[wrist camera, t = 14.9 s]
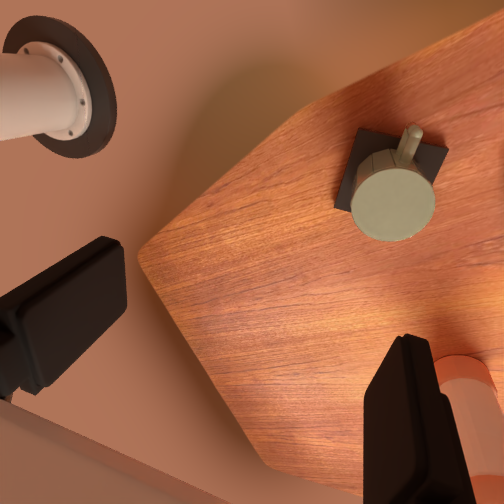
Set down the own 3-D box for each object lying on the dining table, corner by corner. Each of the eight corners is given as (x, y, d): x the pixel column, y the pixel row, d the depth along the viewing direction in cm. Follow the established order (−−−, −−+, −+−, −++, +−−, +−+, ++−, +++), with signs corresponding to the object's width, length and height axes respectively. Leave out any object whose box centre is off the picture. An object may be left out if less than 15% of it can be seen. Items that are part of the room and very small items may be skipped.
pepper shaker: (502, 374, 43) (585, 553, 27) (460, 399, 47) (510, 568, 31) (455, 346, 43) (509, 507, 27) (417, 373, 47) (445, 528, 31)
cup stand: (334, 204, 39) (327, 232, 32) (358, 127, 34) (357, 141, 27) (410, 224, 37) (420, 258, 30) (446, 146, 32) (469, 166, 26)
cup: (345, 202, 37) (341, 230, 30) (376, 112, 32) (379, 122, 25) (405, 217, 36) (415, 250, 29) (447, 127, 31) (469, 141, 24)
